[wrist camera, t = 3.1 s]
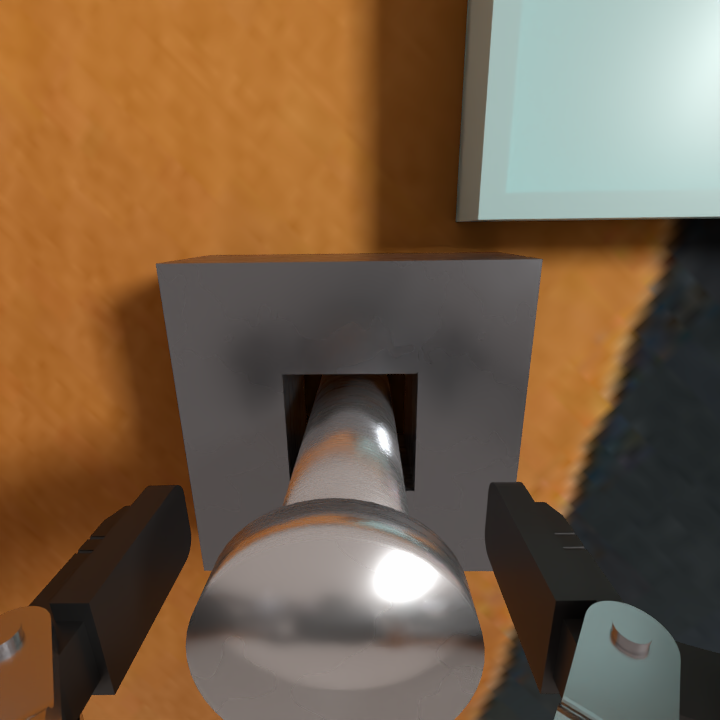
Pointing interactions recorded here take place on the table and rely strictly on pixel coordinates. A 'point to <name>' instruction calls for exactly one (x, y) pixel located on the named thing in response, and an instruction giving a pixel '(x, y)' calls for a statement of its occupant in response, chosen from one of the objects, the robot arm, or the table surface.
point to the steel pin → (338, 588)
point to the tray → (590, 110)
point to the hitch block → (351, 356)
